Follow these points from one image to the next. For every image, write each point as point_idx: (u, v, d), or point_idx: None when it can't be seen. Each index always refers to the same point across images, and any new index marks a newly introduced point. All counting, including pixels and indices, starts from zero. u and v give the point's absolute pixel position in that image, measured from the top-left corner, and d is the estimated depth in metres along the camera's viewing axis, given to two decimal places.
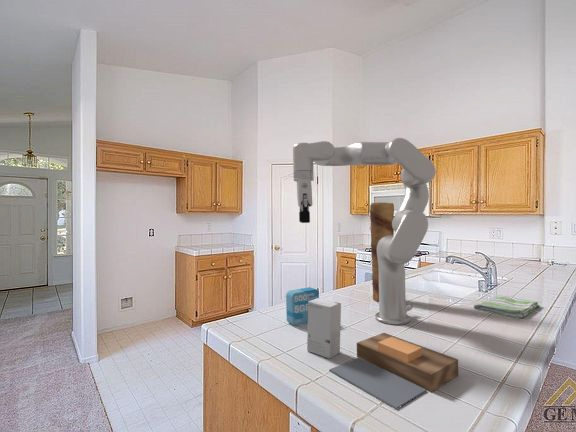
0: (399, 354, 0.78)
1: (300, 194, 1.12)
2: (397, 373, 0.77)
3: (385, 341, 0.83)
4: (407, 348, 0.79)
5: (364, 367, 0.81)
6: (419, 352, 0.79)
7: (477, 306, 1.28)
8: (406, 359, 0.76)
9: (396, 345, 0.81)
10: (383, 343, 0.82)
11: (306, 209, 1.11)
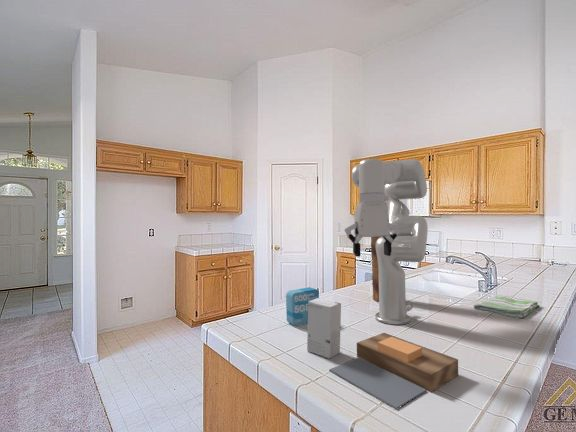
0: (399, 354, 0.78)
1: (389, 222, 0.95)
2: (397, 373, 0.77)
3: (385, 341, 0.83)
4: (407, 348, 0.79)
5: (364, 367, 0.81)
6: (419, 352, 0.79)
7: (477, 306, 1.28)
8: (406, 359, 0.76)
9: (396, 345, 0.81)
10: (383, 343, 0.82)
11: None
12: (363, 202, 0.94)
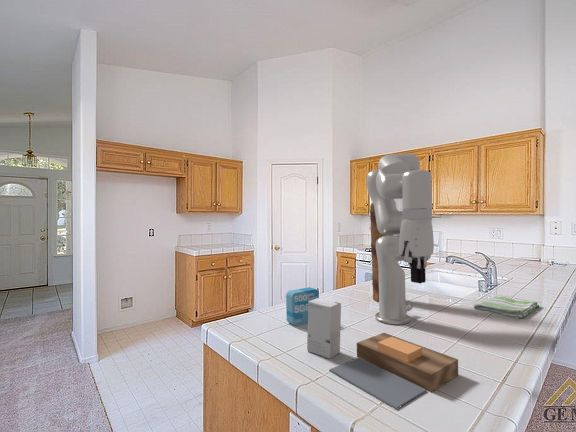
0: (399, 354, 0.78)
1: None
2: (397, 373, 0.77)
3: (385, 341, 0.83)
4: (407, 348, 0.79)
5: (364, 367, 0.81)
6: (419, 352, 0.79)
7: (477, 306, 1.28)
8: (406, 359, 0.76)
9: (396, 345, 0.81)
10: (383, 343, 0.82)
11: None
12: (415, 219, 0.83)
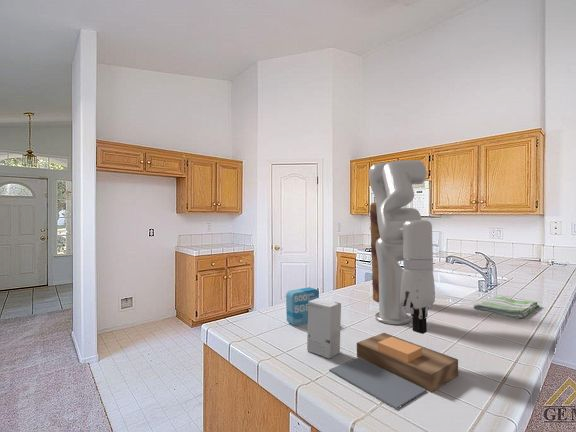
0: (399, 354, 0.78)
1: None
2: (397, 373, 0.77)
3: (385, 341, 0.83)
4: (407, 348, 0.79)
5: (364, 367, 0.81)
6: (419, 352, 0.79)
7: (477, 306, 1.27)
8: (406, 359, 0.76)
9: (396, 345, 0.81)
10: (383, 343, 0.82)
11: None
12: (416, 269, 0.83)
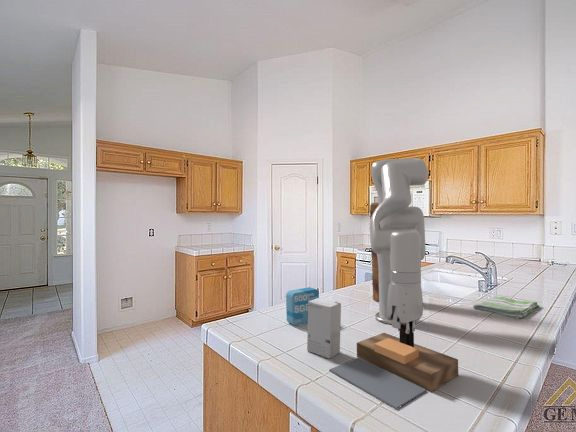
0: (395, 356, 0.77)
1: None
2: (397, 373, 0.77)
3: (381, 343, 0.83)
4: (404, 350, 0.78)
5: (364, 367, 0.81)
6: (416, 354, 0.78)
7: (477, 306, 1.27)
8: (403, 361, 0.75)
9: (393, 347, 0.80)
10: (379, 344, 0.81)
11: None
12: (403, 283, 0.80)
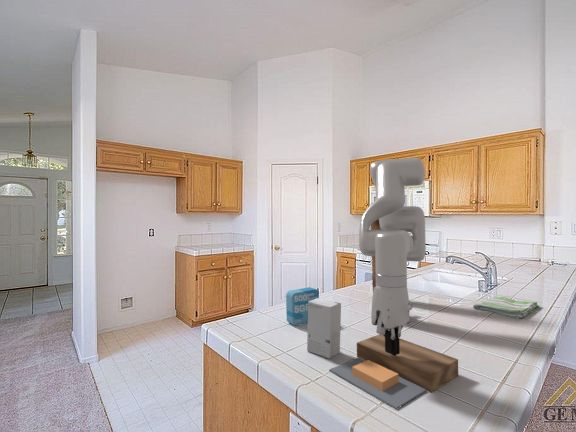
0: None
1: None
2: None
3: None
4: None
5: None
6: (385, 385, 0.71)
7: (477, 306, 1.27)
8: None
9: None
10: None
11: None
12: (388, 287, 0.76)
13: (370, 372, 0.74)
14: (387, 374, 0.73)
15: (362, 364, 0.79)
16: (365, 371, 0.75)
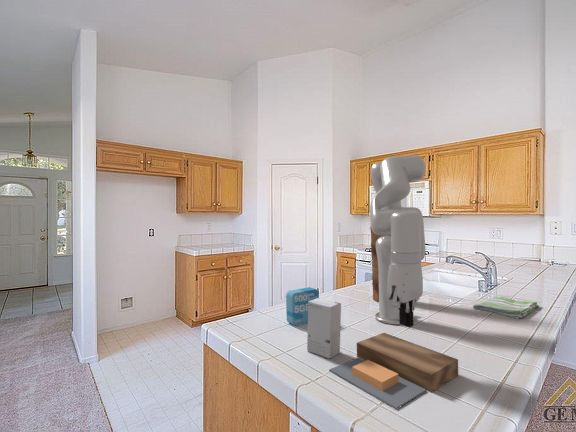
0: None
1: None
2: None
3: None
4: None
5: None
6: (385, 385, 0.71)
7: (476, 306, 1.27)
8: None
9: None
10: None
11: None
12: (403, 263, 0.80)
13: (370, 372, 0.74)
14: (387, 374, 0.73)
15: (362, 364, 0.79)
16: (365, 371, 0.75)
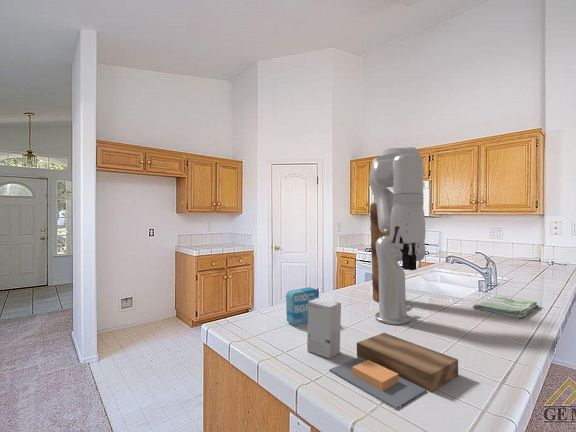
0: None
1: None
2: None
3: None
4: None
5: None
6: (385, 385, 0.71)
7: (476, 306, 1.27)
8: None
9: None
10: None
11: None
12: (406, 203, 0.81)
13: (370, 372, 0.74)
14: (387, 374, 0.73)
15: (362, 364, 0.79)
16: (365, 371, 0.75)
